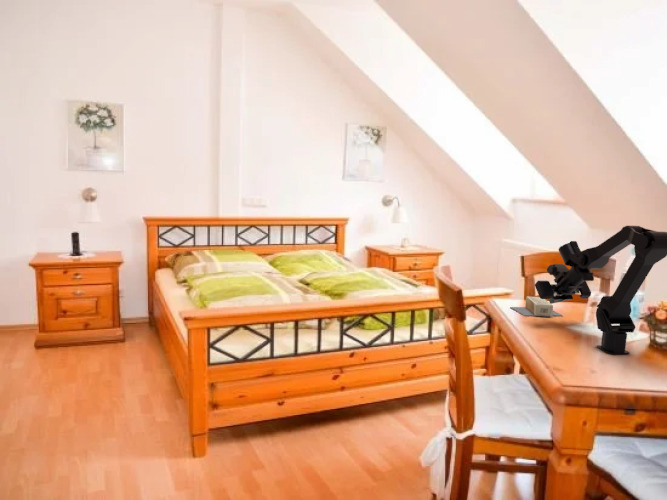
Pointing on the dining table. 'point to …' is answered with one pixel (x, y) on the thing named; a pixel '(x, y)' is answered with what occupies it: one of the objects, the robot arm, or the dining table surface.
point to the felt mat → (527, 312)
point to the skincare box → (539, 306)
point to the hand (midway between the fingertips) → (550, 302)
